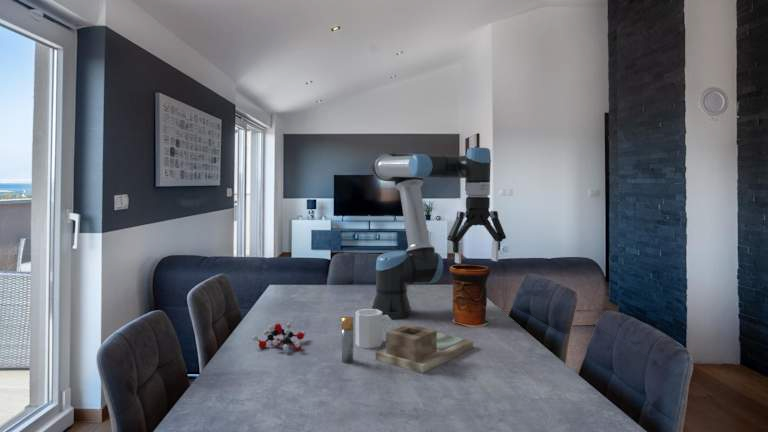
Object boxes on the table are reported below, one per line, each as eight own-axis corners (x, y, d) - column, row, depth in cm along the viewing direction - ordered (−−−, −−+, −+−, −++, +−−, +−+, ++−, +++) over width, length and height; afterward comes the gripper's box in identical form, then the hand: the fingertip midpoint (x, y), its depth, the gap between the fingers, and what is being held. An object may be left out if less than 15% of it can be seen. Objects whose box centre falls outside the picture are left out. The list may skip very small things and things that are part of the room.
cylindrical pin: (339, 361, 128) (339, 318, 127) (347, 358, 130) (347, 315, 129) (347, 364, 125) (347, 320, 125) (355, 360, 128) (355, 317, 127)
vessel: (440, 321, 166) (441, 266, 165) (462, 314, 176) (463, 262, 176) (474, 330, 156) (476, 271, 155) (496, 322, 167) (497, 267, 166)
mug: (355, 348, 138) (355, 316, 137) (355, 339, 146) (355, 308, 146) (395, 347, 139) (395, 315, 138) (393, 338, 147) (393, 308, 147)
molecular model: (282, 335, 151) (320, 331, 144) (264, 366, 141) (303, 363, 134) (267, 312, 146) (305, 307, 140) (246, 342, 136) (287, 339, 130)
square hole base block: (375, 359, 129) (375, 330, 129) (428, 336, 149) (428, 312, 148) (422, 373, 119) (422, 342, 118) (472, 347, 139) (473, 321, 138)
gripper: (448, 196, 141) (447, 265, 142) (517, 196, 149) (516, 261, 150) (437, 196, 148) (436, 261, 149) (504, 195, 156) (502, 258, 158)
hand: (476, 261), depth 150 cm, fingers open, 13 cm apart
